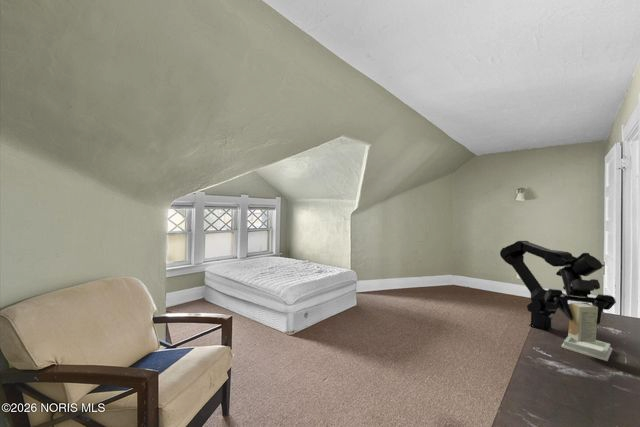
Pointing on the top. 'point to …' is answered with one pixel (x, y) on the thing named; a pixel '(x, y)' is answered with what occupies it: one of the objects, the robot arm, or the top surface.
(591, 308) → the skincare box
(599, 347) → the dock
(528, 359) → the top surface
